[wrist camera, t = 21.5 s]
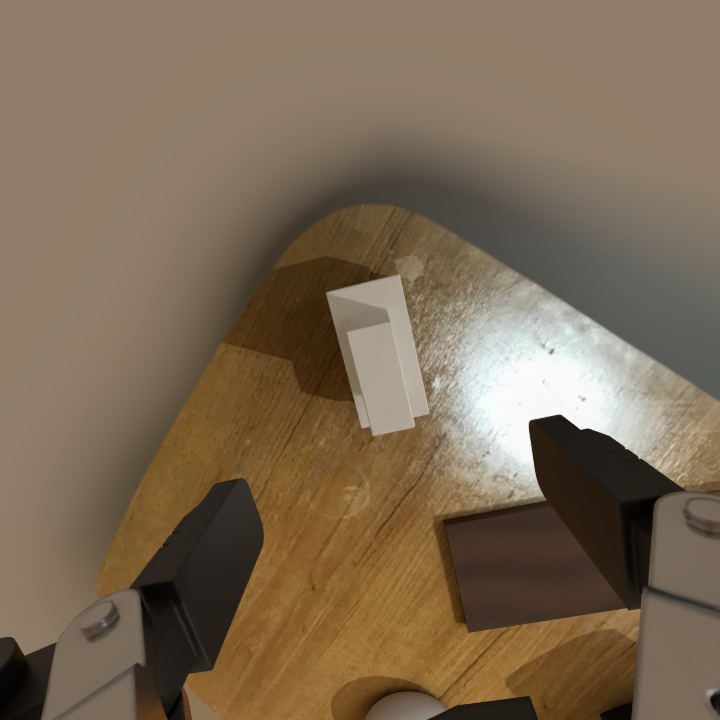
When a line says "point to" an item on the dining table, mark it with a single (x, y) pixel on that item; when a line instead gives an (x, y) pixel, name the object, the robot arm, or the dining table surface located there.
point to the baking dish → (619, 713)
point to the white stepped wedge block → (379, 353)
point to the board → (523, 569)
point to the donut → (406, 707)
